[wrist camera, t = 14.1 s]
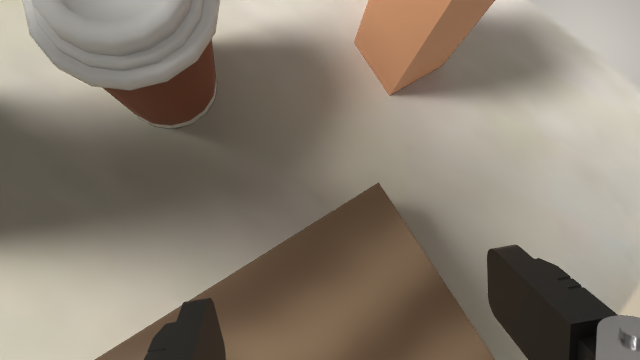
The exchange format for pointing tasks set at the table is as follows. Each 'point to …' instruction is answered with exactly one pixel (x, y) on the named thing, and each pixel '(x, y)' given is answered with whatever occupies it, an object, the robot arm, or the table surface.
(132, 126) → the table surface
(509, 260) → the robot arm
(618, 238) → the table surface
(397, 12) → the orange rectangular block
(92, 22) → the coffee cup
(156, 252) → the table surface
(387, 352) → the lid
